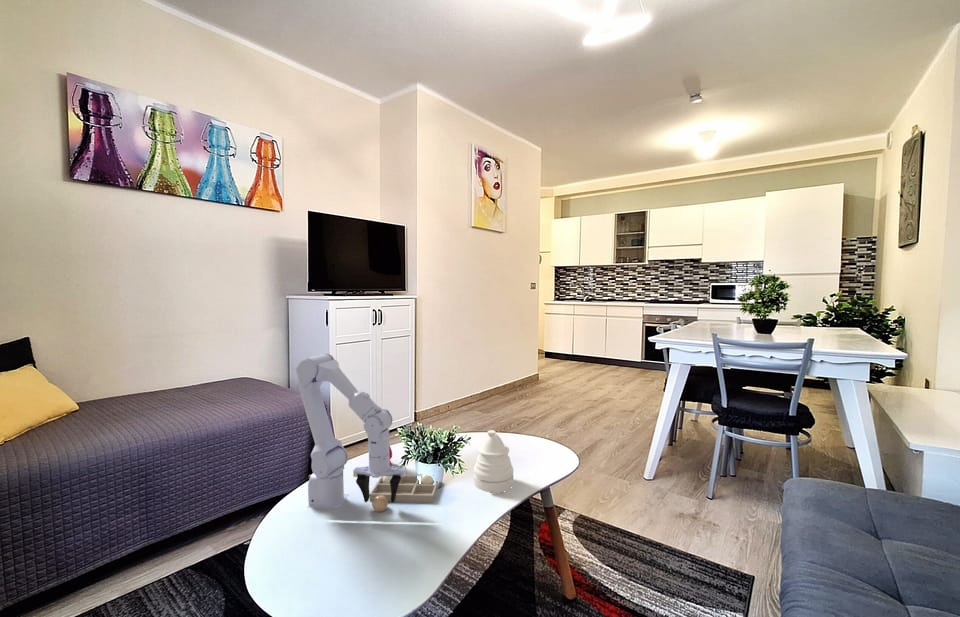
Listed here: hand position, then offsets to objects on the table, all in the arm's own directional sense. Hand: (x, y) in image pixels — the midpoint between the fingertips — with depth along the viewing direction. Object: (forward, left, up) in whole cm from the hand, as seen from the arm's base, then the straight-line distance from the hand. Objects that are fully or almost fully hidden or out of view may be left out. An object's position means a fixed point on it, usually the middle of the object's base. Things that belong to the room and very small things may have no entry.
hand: (380, 500), depth 119 cm
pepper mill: (-8, +29, -3) cm, 30 cm away
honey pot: (+32, +18, -3) cm, 37 cm away
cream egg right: (+11, +14, -2) cm, 18 cm away
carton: (+5, +11, -3) cm, 12 cm away
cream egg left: (-1, +14, -2) cm, 14 cm away
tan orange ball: (0, 0, -3) cm, 3 cm away
